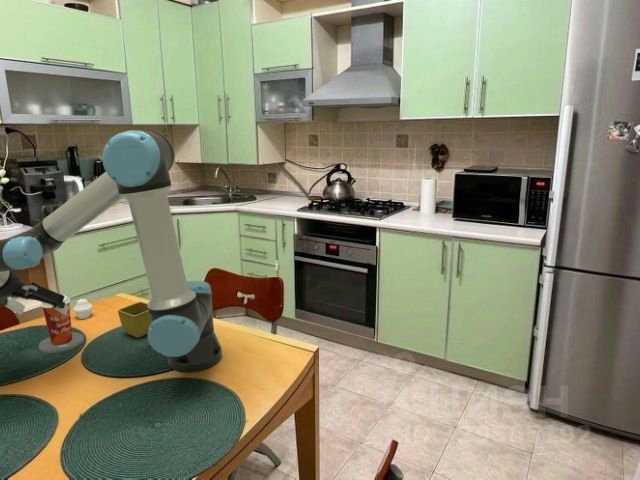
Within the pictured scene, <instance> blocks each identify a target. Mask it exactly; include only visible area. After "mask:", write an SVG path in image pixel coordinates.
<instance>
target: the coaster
mask: <svg viewBox="0 0 640 480" xmlns="http://www.w3.org/2000/svg"><path fill="white" fill-rule="evenodd" d="M83 343H84V335H83V334H82V333H80V332H77V331H72V340H71V341H70V342H68V343H66V344H62V345H53V344H52V342H51V339H50V336H47V337H46V338H44V339H43V340H41V341H40V342H39V344H38V349H39V351H40V352H41V353H42V354H47V355H49V354H51V355H52V354H61V353H65V352H68V351H71V350H74V349H76V348H77V347H80V345H82V344H83Z"/></svg>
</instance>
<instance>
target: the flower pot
mask: <svg viewBox="0 0 640 480" xmlns="http://www.w3.org/2000/svg"><path fill="white" fill-rule="evenodd" d="M147 304H148V302H144V301H137V302H135V303H132V304H130V305H127V306H125V307H122V308H119V309H117V313H118V317H119V321H120V324H121V326H122V328H123V329H124V331H125V332H126V333H127V334H128V335H130V336H133V337H135V338H136V339H139V338H142V337H144V336H146V335H148V330H149V326H150V325H151V319H150V315H149V310H148V306H147Z"/></svg>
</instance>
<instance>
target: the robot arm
mask: <svg viewBox="0 0 640 480" xmlns="http://www.w3.org/2000/svg"><path fill="white" fill-rule="evenodd" d="M175 159H176V153H175V148H174V146H173V144H172V143H171V141H170V139H168V137H167V136H165V135H164V134H162V133H161V132H158V131H156V130H148V129H147V130H140V129H139V130H138V129H134V130H131V129H130V130H126V131H122V132H120V133H117V134H115V135H114V136H113V137H111V138H110V139H109V140H108V141H107V143H106V145H105V146H104V148H103V152H102V165H103V169H104V171H105V172H103V173H102V174H101V175H100V176H98V177H97V178H95V180H93V181H92V182H91V183H89V184H87V186H85V187H84V188H83V189H81V190H80V191H79V192H78V193H76V194H75V195H73V196H72V197H71V198H70V199H68V200H67V201H65V203H63V204H61V205H60V206H59V207H58V208H57V209H55V210H54V211H53V212H51V213H50V214H49V215H48V216H46V217H45V218H43V220H41V221H39V222H38V223H37V224H35V225H34V226H33V227H32V228H30V229H27V230H26V231H22V232H20V233H17V234H15V235H13V236H9V237H7V238H3V239H2V238H1V239H0V306H3V307H6V308H7V309H9V310H10V311H12V312H14V313H15V314H17V315H19V316H21V315H23V313H24V310H25V308H26V305H24V304H22V303H21V302H19V301H18V300H16V299H17V298H20V299H23V300H28V301H29V300H34V301H37V302H41V303H42V302H44V303H47V304H51V305H52V307H53V308H54V309H56V310H57V311H59V312H60V313H62V314H63V315H67V312H68V309H69V306H70V305H69V306H68V305H67V304H65V303H64V302H63V300H64V297H65V296H63V295H64V294H60V293H58V292H57V291H53V290H51V289H49V288H46V287H43V286H41V285H39V284H37V283H36V282H31V283H30V285H28V284H25V283H24V282H22V281H21V279H20V275H18V274H17V272H15V271H19V270H20V271H21V270H25V269H29V268H35V267H36V266H38V265H40V263H41V260H42V259H43V257H44V256H46V255H48V254H51V253H53V252H55V251H57V250H58V249H59V248H60V247H61V246H62V245H63V244H64V243H65V242H66V241H67V240H68V239H70V238H71V237H73V236H74V235H75V234H77V233H78V232H79V231H81V230H82V229H83V228H85V227H86V226H87V225H89V224H90V223H91V222H92V221H94V220H95V219H97V218H98V217H99V216H101V215H102V214H103V213H105V212H106V211H107V210H109V209H110V208H111V207H113V206H114V205H115V204H116V203H118V202H119V201H120V200H122V199H125V200H126V201H127V202H128V205H129V210H130V214H131V218H132V222H133V226H134V230H135V234H136V237H137V242H138V246H139V250H140V254H141V258H142V262H143V266H144V271H145V274H146V278H147V282H148V285H149V286H148V287H149V291H150V295H151V298H150V299H149V301H148V302H147V306H148V310H149V315H150V319H151V325H150V326H149V330H148V334H147V341H148V344H149V345H150V346H151V348H152V349H153V350H154V351H156V352H157V353H159V354H162V355H163V356H165V357H167V358H166V359H167V365H168V366H169V367H170V369H172V370H174V371H177V372H183V373H184V372H185V373H193V372H194V373H195V372H199V371H203V370H206V369H208V368H209V369H210V368H211V367H213V366H215V365H216V364H218V363H220V360H221V359H222V356H223V352H222V350H223V349H222V346H221V344H220V341H219V339H218V337H217V335H216V333H215V329H214V328H215V327H214V326H215V325H214V313H213V300H212V298H213V297H212V294H213V292H212V289H211V285H210V284H209V283H208V282H206V281H199V280H187V278H186V274H185V270H184V264H183V261H182V256H181V251H180V247H179V243H178V237H177V234H176V230H175V226H174V221H173V216H172V215H173V214H172V211H171V207H170V201H169V198H168V193H169V192H170V189H171V188H172V186H173V185H172V181H171V176H170V171H171V169H172V167H173V166H174V164H175ZM27 292H28V293H27ZM26 294H27V295H26ZM15 298H16V299H15Z"/></svg>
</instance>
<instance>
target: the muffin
mask: <svg viewBox="0 0 640 480" xmlns="http://www.w3.org/2000/svg"><path fill="white" fill-rule="evenodd" d="M93 307H94V306H93V305H92V303H90V302H89V301H88V299H86V298H80V299H78V300H77V301H76V302H75V306H73V307H72V312H74V315H75V316H77V318H78V319H80V320H86V319H88V318H90V316H91V313H92V311H93Z"/></svg>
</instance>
